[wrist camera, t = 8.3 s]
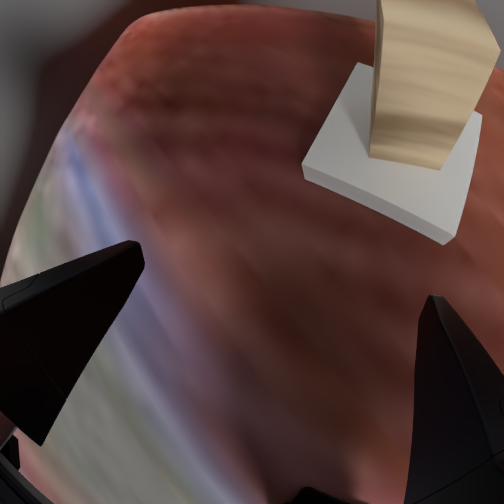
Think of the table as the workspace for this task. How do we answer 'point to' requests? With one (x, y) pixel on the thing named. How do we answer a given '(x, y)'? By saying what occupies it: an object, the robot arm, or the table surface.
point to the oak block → (426, 77)
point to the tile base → (390, 167)
